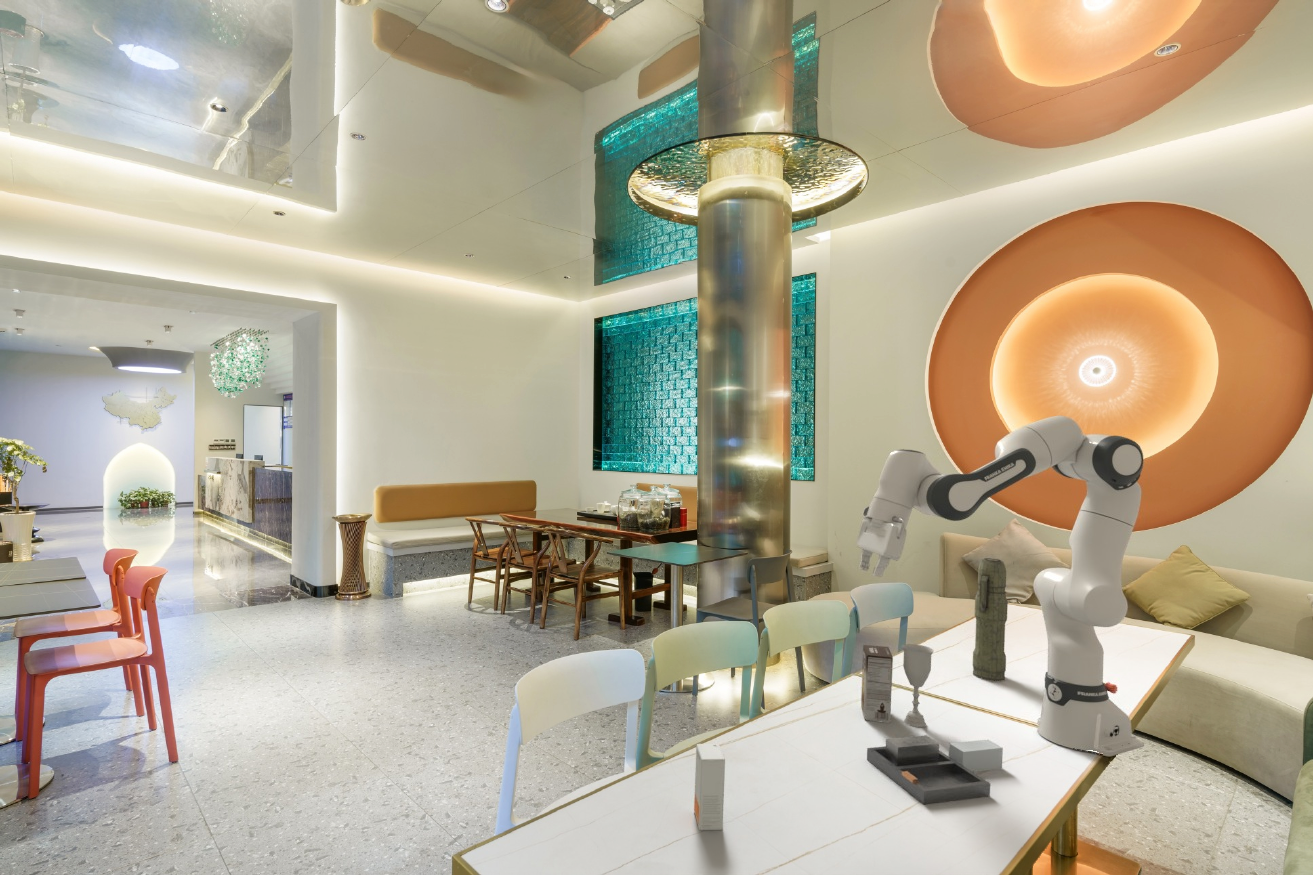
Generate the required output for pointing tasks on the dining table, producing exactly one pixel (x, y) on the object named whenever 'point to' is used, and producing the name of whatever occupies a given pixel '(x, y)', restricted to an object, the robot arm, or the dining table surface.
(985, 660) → the thermos
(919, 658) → the chalice
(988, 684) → the dining table surface
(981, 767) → the pale grey rectangular block
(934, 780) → the tray
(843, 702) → the dining table surface
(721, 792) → the skincare box
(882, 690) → the coffee box
